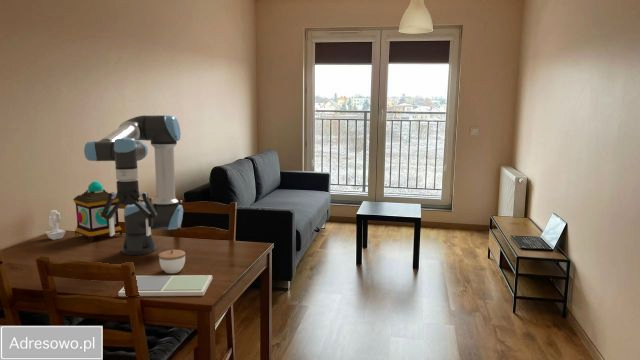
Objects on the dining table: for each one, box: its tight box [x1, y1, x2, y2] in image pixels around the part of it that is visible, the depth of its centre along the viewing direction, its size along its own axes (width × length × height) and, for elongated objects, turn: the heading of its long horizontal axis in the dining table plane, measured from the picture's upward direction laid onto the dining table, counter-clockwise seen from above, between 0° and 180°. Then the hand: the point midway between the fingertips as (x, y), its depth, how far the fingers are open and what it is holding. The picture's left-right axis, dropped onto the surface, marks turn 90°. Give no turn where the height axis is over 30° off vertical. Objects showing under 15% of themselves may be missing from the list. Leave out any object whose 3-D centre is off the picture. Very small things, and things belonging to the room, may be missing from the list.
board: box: [118, 274, 213, 297], centre depth 181 cm, size 31×17×2 cm, turn 92°
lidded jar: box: [158, 249, 186, 274], centre depth 198 cm, size 11×11×9 cm
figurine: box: [44, 209, 66, 241], centre depth 246 cm, size 7×9×15 cm
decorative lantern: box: [72, 180, 123, 243], centre depth 248 cm, size 20×20×30 cm
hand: (130, 235), depth 178 cm, fingers open, 13 cm apart
